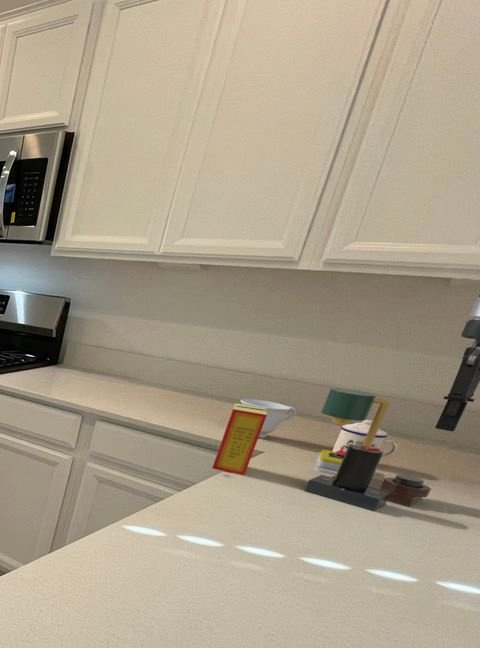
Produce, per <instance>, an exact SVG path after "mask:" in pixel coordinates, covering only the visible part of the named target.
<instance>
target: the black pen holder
mask: <svg viewBox="0 0 480 648" xmlns="http://www.w3.org/2000/svg"><path fill="white" fill-rule="evenodd" d="M383 454H384V451H382V450H381V449H380V450H379V448H370V447H366V446H360V445H349V446H348V448H347V451H346V453H345V455H344V458H343V460H342V462H341V465H340V467H339V469H338V472H337V474H336V476H335V475H334V476H335V478H334V481H333V483H334V484H335V485H338V486H340V487H343V488H347V489H351V490H357V491H366V490H367V488H368V485H369V483H370V481H371V479H372V478H374V477H373V476H374V475H375V473H376V470H377V468H378V466H379V464H380V461H381V459H382V455H383Z"/></svg>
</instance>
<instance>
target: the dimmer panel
mask: <svg viewBox="0 0 480 648" xmlns="http://www.w3.org/2000/svg"><path fill="white" fill-rule="evenodd" d="M332 477H333V476H329V475H325V474H320V475H318V476H316V477H313V478H310V479H308V483H307V485H306V486H305V489H304V492H305V493H308V494H312V495H316V496H319V497H322V498H326V499H329V500H333V501H336V502H340V503H343V504H346V505H350V506H353V507H357V508H361V509H364V510H366V511H370V512H376V511H377V510H380V509H381V508H383V507H385V506H386V504H387V502H388V501H387V500H388V498H389V496H390V494H391V493H388V492H384V491H380V490H377V489H373V488H369V487H368V488H367V490H366V491H357V490H351V489H347V488H343V487H340V486H338V485H335V484H334V483H333V481H334V478H332Z"/></svg>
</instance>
